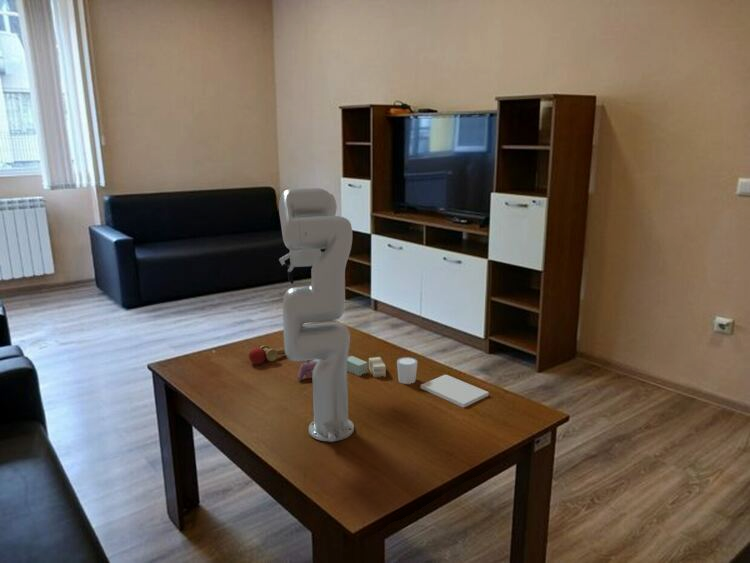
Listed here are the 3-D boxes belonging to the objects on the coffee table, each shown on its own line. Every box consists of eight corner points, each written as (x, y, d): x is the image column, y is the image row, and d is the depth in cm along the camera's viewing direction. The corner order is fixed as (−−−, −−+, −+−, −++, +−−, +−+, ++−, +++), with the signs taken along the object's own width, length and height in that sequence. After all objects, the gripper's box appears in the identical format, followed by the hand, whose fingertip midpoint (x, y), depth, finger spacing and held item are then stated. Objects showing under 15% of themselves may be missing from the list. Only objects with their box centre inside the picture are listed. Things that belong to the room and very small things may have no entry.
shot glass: (400, 386, 192) (400, 366, 190) (394, 377, 198) (394, 358, 196) (420, 383, 193) (420, 363, 192) (413, 375, 200) (413, 355, 198)
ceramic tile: (488, 395, 185) (488, 392, 184) (463, 407, 177) (463, 404, 177) (445, 377, 198) (445, 374, 197) (420, 388, 190) (420, 384, 190)
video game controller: (328, 382, 198) (329, 362, 199) (326, 382, 193) (327, 361, 195) (299, 381, 199) (301, 361, 200) (296, 381, 194) (298, 360, 196)
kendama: (286, 353, 223) (243, 359, 211) (289, 338, 221) (246, 343, 209) (297, 362, 218) (253, 369, 206) (300, 347, 216) (256, 353, 204)
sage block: (367, 373, 202) (367, 362, 201) (358, 376, 200) (358, 365, 198) (351, 366, 208) (351, 355, 207) (343, 369, 205) (343, 358, 204)
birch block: (385, 376, 199) (385, 365, 198) (374, 378, 198) (374, 367, 197) (379, 367, 207) (379, 356, 206) (368, 368, 206) (368, 358, 205)
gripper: (278, 235, 188) (281, 286, 193) (332, 232, 192) (333, 282, 197) (276, 230, 195) (279, 280, 200) (328, 228, 199) (329, 277, 204)
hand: (306, 281), depth 198 cm, fingers open, 9 cm apart
